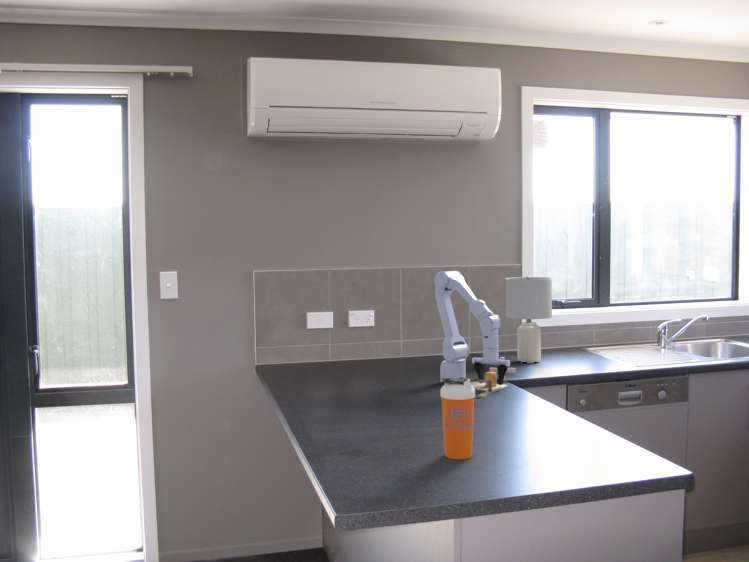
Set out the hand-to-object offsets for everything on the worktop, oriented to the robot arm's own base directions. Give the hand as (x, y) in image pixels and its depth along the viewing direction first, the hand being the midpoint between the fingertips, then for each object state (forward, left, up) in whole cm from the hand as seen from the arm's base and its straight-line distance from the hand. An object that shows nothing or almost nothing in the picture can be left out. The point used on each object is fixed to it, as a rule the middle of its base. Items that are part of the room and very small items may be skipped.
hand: (491, 383), depth 262 cm
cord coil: (0, 0, -1) cm, 1 cm away
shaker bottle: (+27, -79, -2) cm, 84 cm away
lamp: (-10, +63, -2) cm, 64 cm away
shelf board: (-2, -5, -2) cm, 6 cm away
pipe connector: (-1, +13, -2) cm, 13 cm away
